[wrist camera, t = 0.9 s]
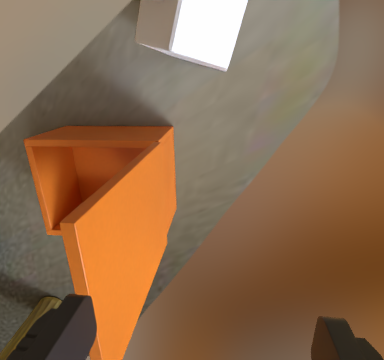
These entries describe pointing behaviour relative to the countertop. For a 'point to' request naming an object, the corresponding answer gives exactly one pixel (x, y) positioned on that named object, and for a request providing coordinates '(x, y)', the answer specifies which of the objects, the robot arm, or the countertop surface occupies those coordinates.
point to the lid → (118, 248)
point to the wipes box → (91, 165)
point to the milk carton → (191, 29)
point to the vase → (30, 323)
